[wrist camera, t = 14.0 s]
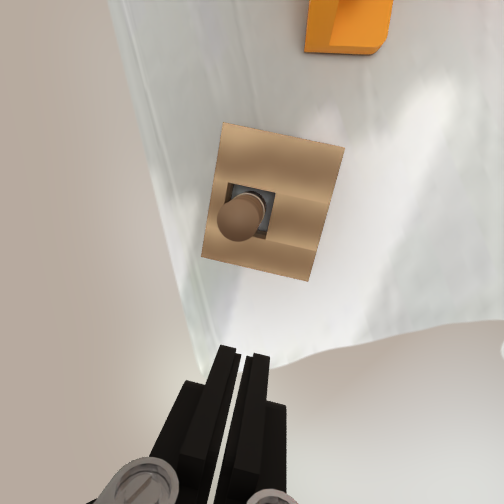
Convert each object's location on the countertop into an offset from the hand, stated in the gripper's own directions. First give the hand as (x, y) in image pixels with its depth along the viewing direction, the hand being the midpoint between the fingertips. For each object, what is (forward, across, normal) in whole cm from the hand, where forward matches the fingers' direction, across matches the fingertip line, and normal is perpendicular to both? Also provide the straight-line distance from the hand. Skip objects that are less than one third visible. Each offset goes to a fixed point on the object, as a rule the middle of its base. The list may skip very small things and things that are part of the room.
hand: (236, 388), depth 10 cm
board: (+27, +1, -3) cm, 27 cm away
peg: (+27, +3, -2) cm, 27 cm away
